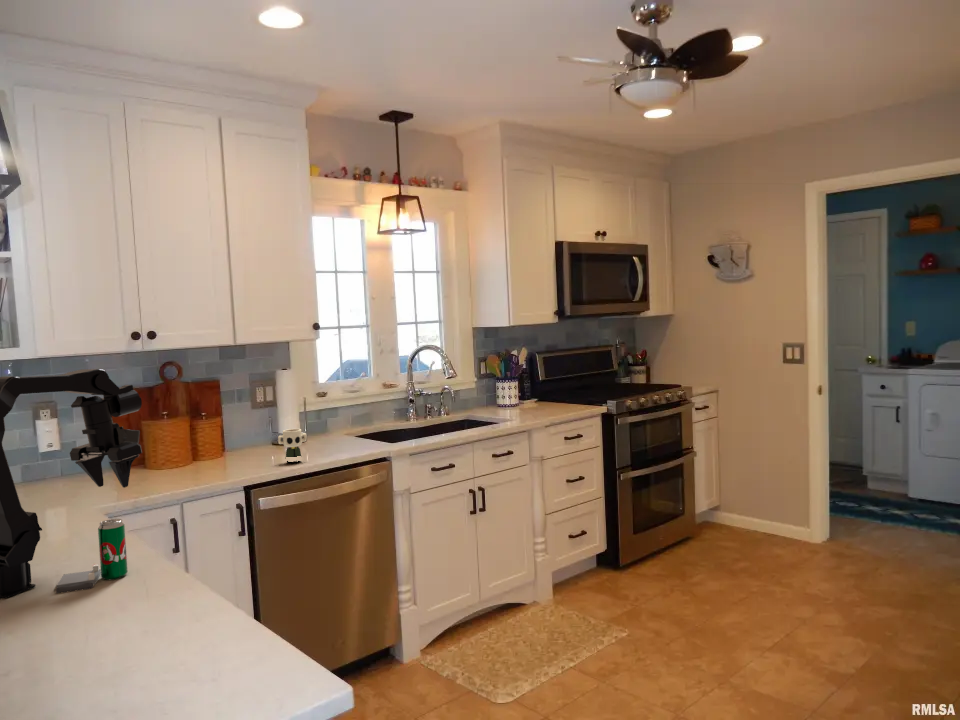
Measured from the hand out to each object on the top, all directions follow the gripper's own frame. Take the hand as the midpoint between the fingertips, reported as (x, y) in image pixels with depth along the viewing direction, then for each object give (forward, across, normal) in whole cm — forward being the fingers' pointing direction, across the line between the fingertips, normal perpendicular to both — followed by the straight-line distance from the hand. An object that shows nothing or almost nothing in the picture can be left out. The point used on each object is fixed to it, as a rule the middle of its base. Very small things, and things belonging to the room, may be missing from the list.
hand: (113, 486), depth 165 cm
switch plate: (+15, -8, +17) cm, 24 cm away
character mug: (+27, +43, -101) cm, 113 cm away
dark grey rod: (+15, -12, +20) cm, 28 cm away
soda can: (+16, -12, +12) cm, 23 cm away
